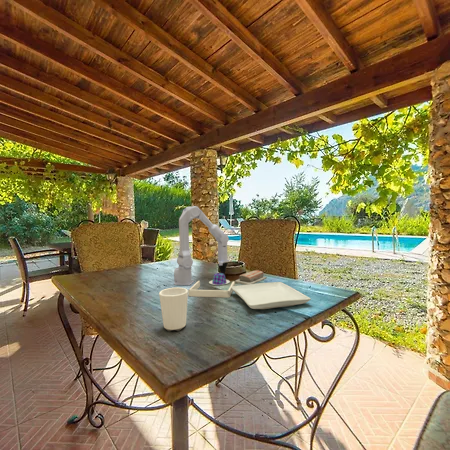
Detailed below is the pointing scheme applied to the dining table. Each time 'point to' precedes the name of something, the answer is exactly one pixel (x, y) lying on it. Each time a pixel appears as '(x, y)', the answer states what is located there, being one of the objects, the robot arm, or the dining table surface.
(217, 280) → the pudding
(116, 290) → the dining table surface
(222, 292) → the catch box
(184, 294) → the cup
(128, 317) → the dining table surface
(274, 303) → the square plate
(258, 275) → the packaged product
